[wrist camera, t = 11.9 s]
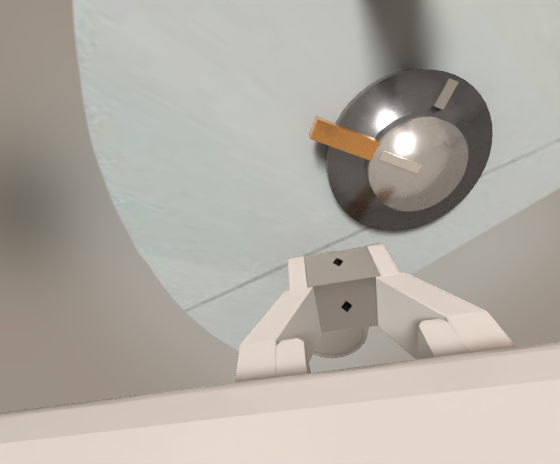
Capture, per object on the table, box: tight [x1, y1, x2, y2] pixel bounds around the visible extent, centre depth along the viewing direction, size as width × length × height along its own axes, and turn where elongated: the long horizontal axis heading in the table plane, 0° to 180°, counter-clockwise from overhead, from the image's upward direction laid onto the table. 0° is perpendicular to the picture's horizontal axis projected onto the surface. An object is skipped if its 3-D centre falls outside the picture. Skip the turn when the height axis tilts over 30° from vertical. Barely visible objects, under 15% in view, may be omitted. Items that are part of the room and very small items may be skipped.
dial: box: [309, 114, 468, 211], centre depth 35 cm, size 18×11×3 cm, turn 71°
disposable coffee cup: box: [313, 327, 368, 358], centre depth 44 cm, size 10×10×12 cm
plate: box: [326, 69, 492, 230], centre depth 38 cm, size 20×20×2 cm
